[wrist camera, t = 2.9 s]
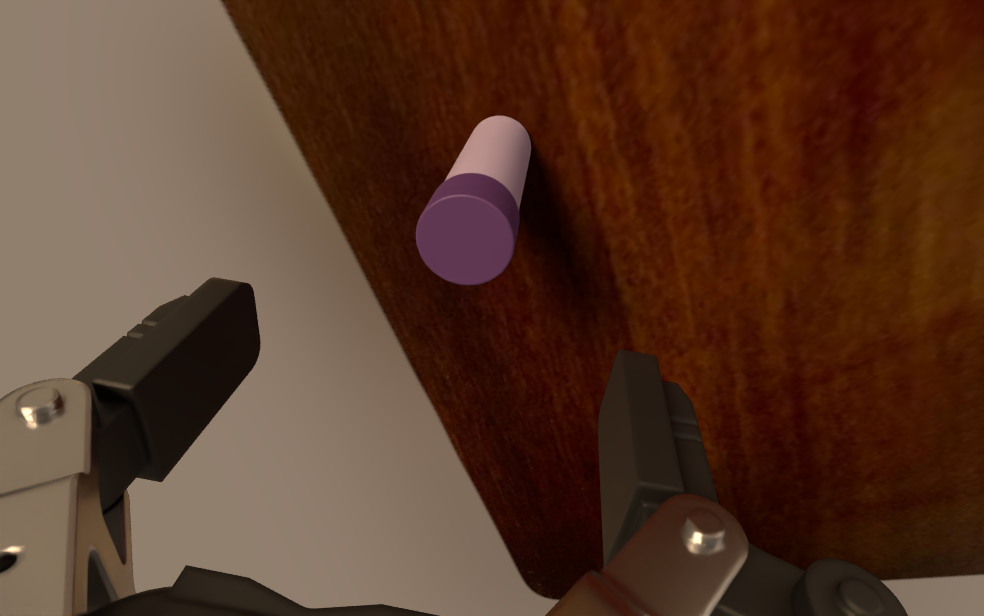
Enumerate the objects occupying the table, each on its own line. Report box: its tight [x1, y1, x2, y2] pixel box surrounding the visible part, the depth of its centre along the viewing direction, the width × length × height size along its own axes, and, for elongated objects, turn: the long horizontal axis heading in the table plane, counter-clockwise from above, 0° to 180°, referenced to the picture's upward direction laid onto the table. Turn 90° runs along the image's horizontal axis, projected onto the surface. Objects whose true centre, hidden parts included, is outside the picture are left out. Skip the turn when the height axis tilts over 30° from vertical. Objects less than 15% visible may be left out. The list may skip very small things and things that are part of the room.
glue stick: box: [416, 116, 531, 285], centre depth 21 cm, size 3×3×10 cm
